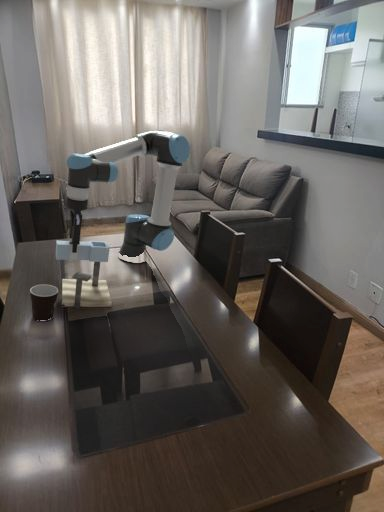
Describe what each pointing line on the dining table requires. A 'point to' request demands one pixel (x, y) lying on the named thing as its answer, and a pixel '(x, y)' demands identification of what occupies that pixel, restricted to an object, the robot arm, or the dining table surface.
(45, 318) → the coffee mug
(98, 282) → the pintle plate
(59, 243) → the link
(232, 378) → the dining table surface
